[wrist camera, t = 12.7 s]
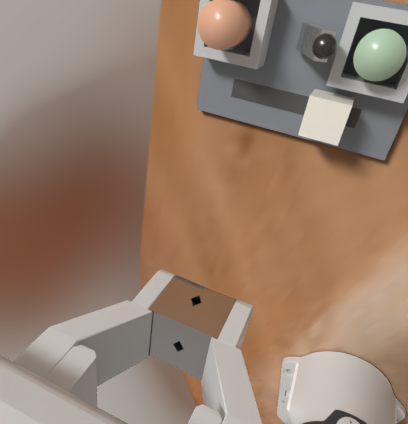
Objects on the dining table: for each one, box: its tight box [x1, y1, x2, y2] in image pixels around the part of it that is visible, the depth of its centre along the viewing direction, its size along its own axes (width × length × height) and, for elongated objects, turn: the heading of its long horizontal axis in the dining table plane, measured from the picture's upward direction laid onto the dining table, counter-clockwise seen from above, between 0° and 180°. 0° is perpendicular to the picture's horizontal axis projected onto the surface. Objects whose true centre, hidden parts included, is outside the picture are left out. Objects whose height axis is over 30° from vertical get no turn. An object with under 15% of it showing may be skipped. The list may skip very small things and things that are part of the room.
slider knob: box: [298, 89, 354, 146], centre depth 36 cm, size 4×4×4 cm
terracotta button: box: [198, 0, 252, 50], centre depth 34 cm, size 4×4×4 cm
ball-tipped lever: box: [296, 22, 337, 63], centre depth 32 cm, size 2×2×7 cm
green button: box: [353, 28, 406, 81], centre depth 32 cm, size 4×4×4 cm
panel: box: [194, 0, 408, 160], centre depth 36 cm, size 14×22×4 cm, turn 80°
